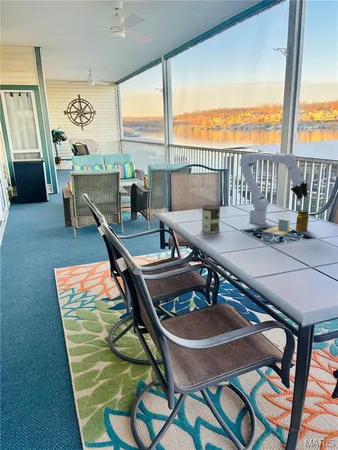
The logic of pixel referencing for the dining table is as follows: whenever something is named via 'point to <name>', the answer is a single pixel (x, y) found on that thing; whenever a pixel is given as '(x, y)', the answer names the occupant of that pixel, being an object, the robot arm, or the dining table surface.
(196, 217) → the dining table surface
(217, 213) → the coffee can
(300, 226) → the condiment
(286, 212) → the dining table surface
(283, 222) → the block
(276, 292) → the dining table surface
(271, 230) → the mat
